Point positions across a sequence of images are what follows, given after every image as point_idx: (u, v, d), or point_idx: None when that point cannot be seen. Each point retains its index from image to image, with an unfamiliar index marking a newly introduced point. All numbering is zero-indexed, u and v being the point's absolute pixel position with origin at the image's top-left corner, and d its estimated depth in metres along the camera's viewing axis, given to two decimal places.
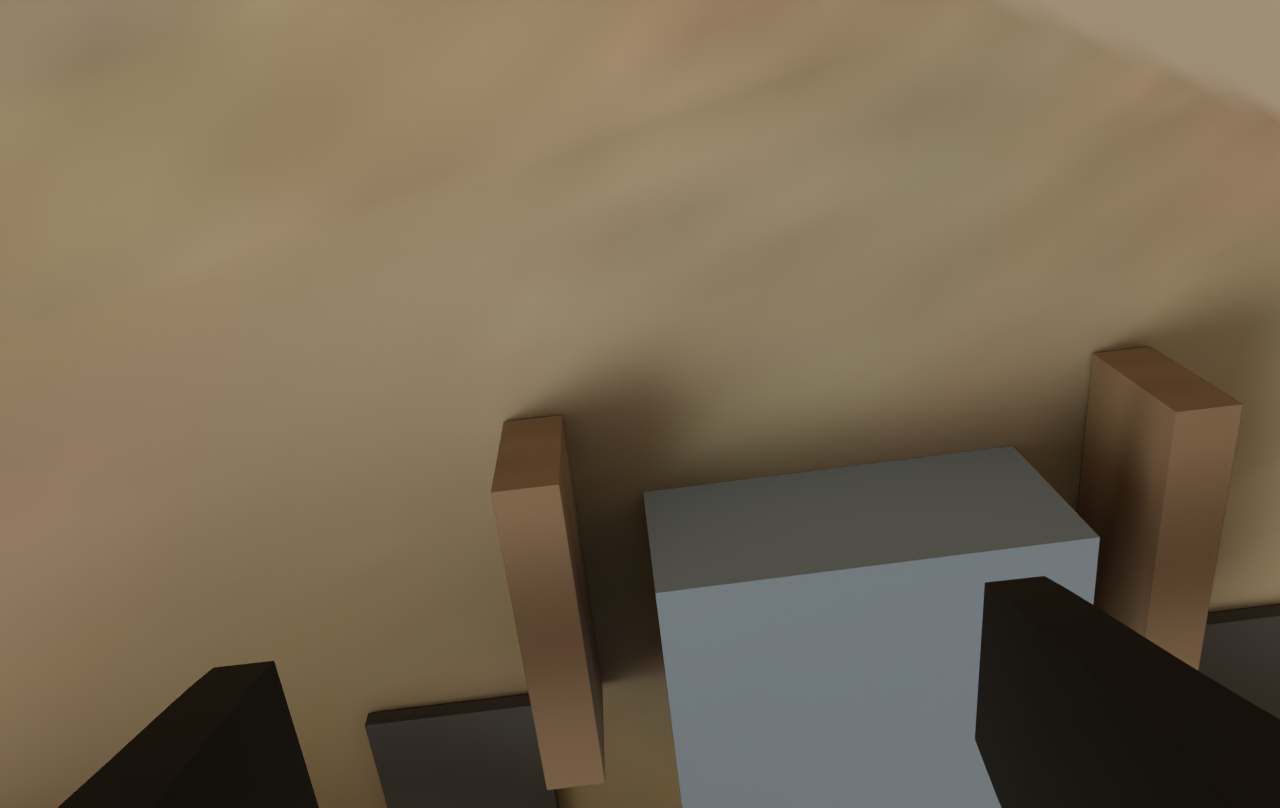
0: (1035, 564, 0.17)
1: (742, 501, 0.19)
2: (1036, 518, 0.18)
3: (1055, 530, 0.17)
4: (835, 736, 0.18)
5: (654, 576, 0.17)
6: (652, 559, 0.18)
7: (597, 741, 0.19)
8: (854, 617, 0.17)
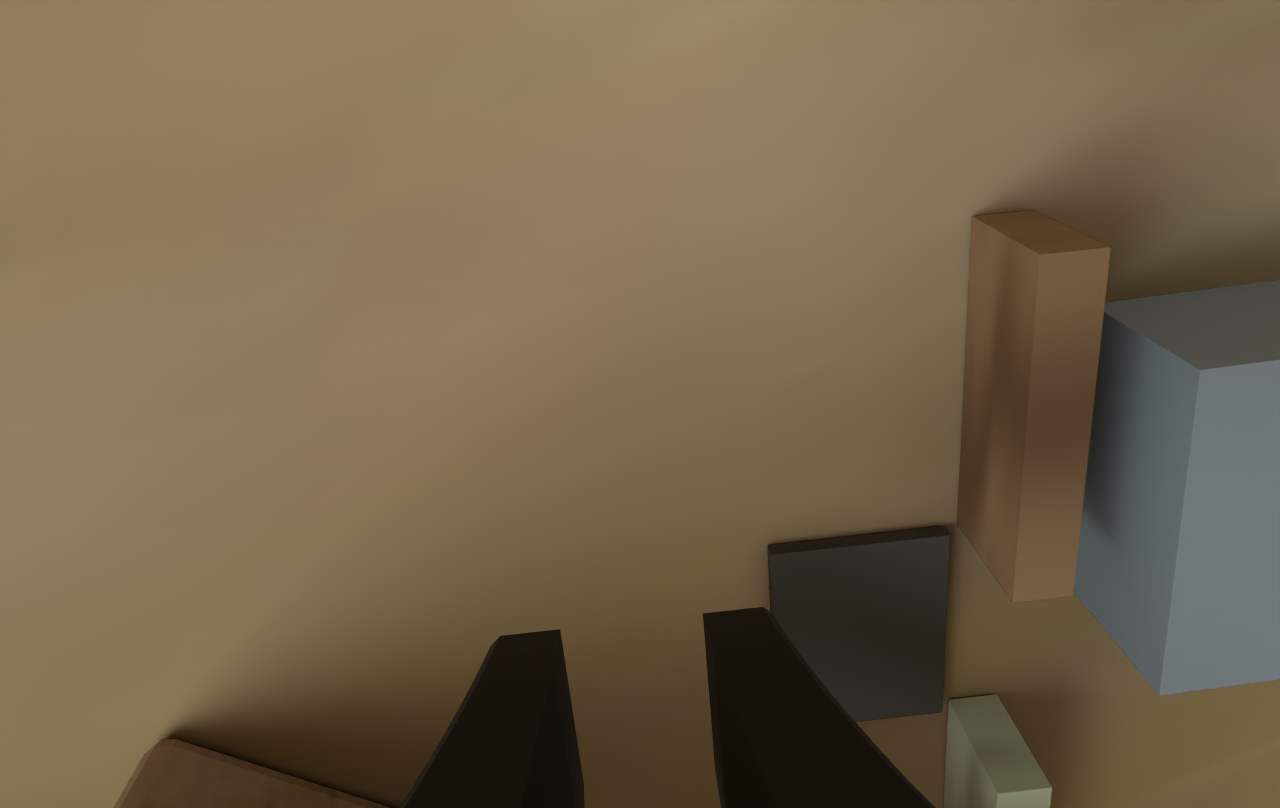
0: None
1: (1215, 305, 0.19)
2: None
3: None
4: None
5: (1183, 359, 0.17)
6: (1165, 348, 0.17)
7: None
8: None
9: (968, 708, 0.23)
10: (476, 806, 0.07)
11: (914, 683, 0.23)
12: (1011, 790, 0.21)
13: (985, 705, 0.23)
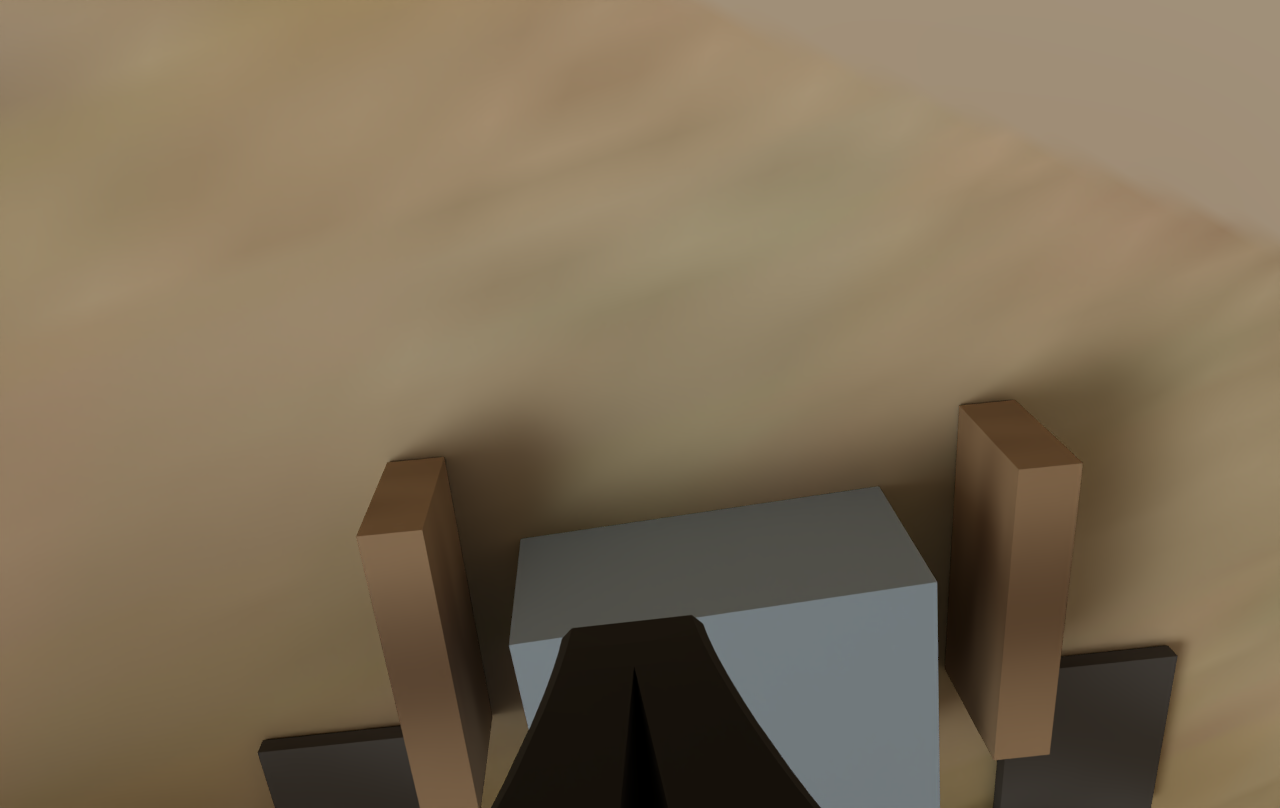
0: (876, 609, 0.18)
1: (611, 548, 0.20)
2: (882, 562, 0.18)
3: (896, 576, 0.18)
4: None
5: (511, 627, 0.18)
6: (513, 610, 0.19)
7: (470, 775, 0.20)
8: None
9: None
10: (576, 794, 0.07)
11: None
12: None
13: None
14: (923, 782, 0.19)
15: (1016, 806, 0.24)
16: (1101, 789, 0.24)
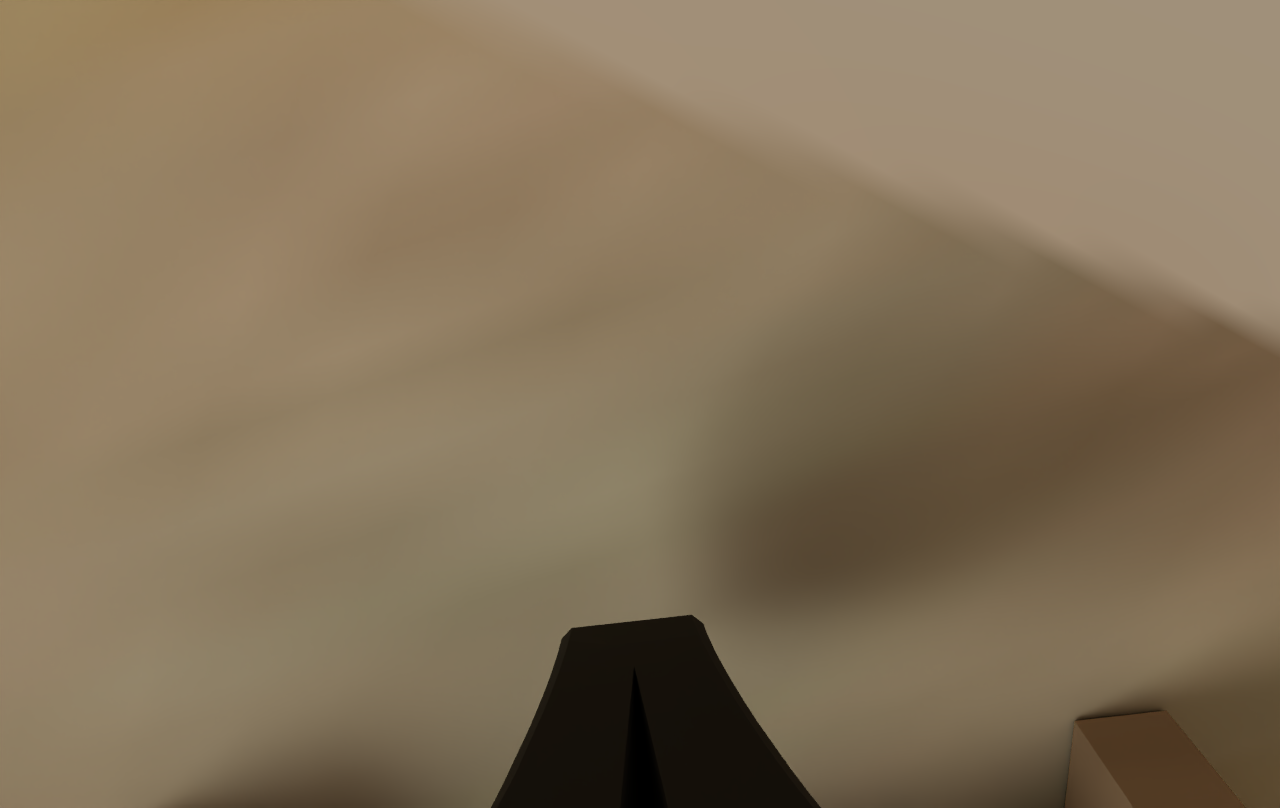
0: None
1: None
2: None
3: None
4: None
5: None
6: None
7: None
8: None
9: None
10: (576, 794, 0.07)
11: None
12: None
13: None
14: None
15: None
16: None
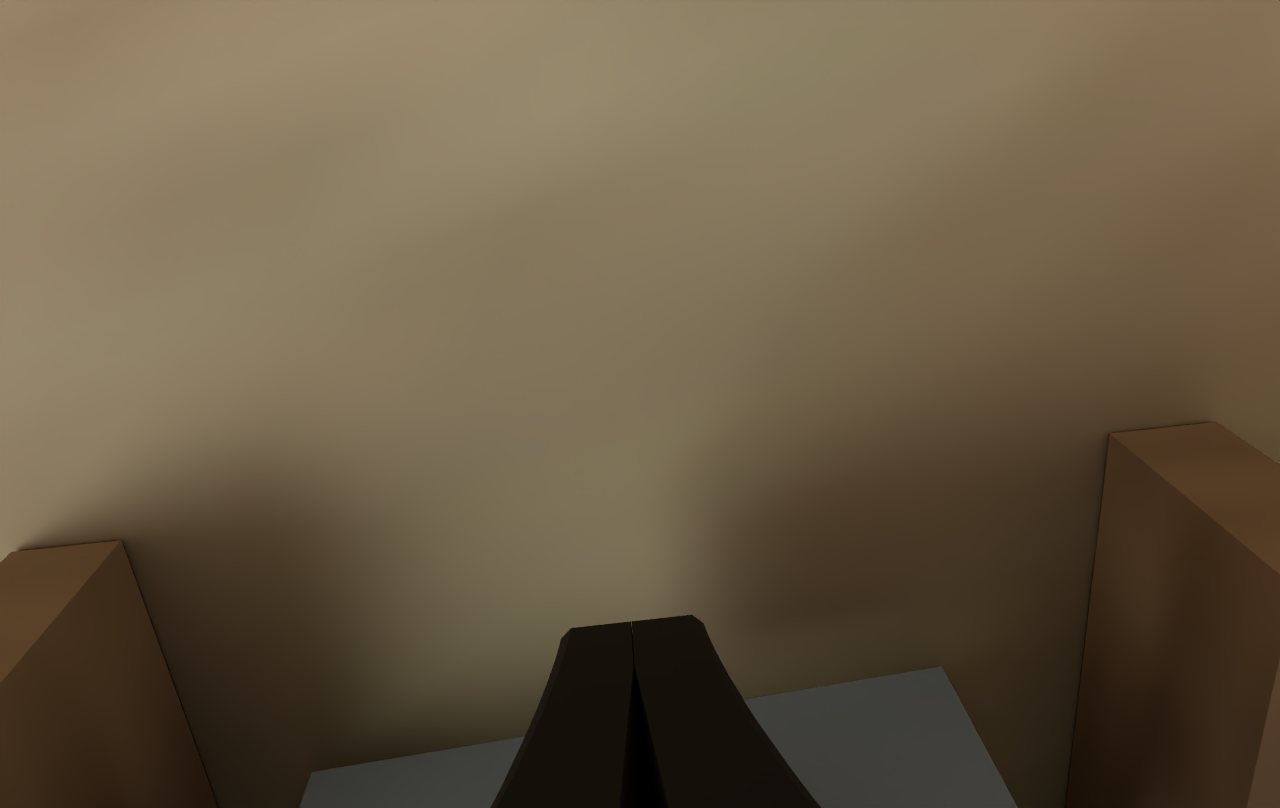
0: None
1: None
2: None
3: None
4: None
5: None
6: None
7: None
8: None
9: None
10: (575, 794, 0.07)
11: None
12: None
13: None
14: None
15: None
16: None
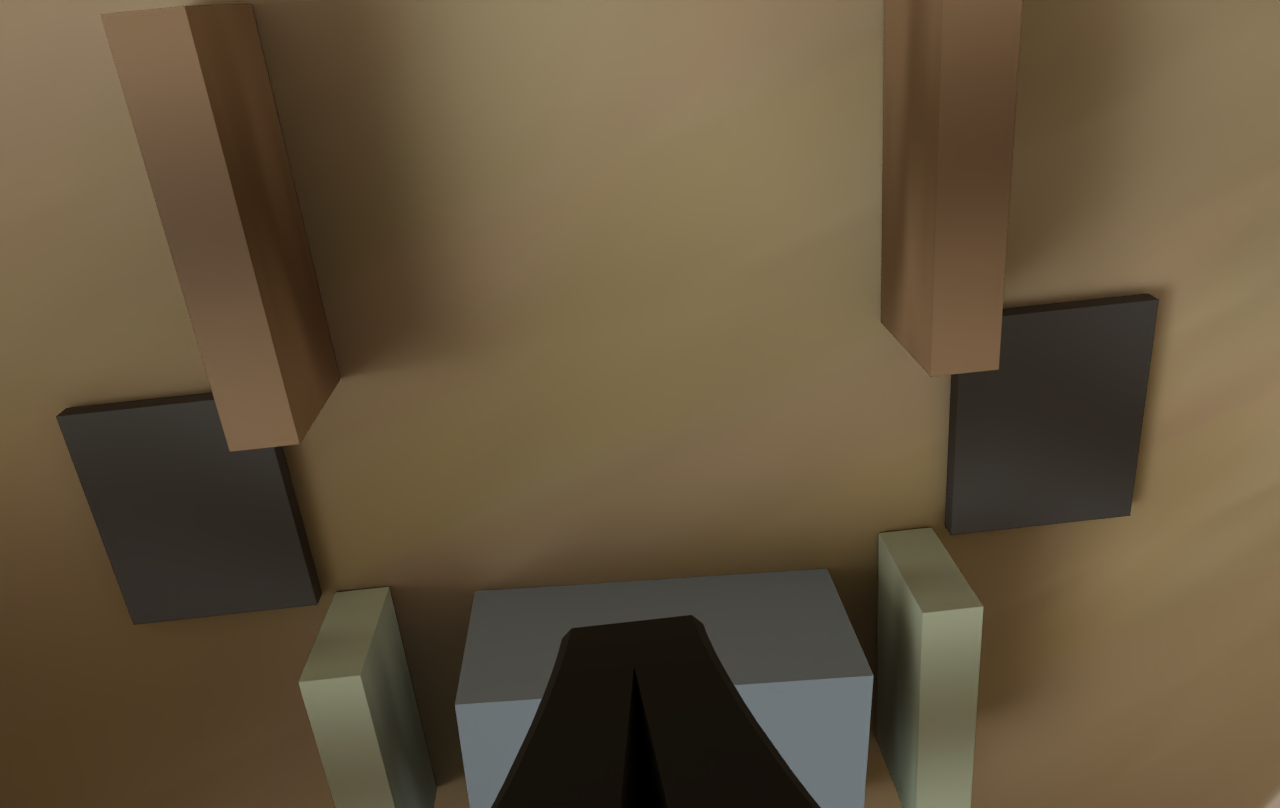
0: (813, 697, 0.18)
1: (563, 609, 0.21)
2: (823, 650, 0.19)
3: (835, 665, 0.19)
4: None
5: (459, 686, 0.18)
6: (462, 667, 0.19)
7: (281, 383, 0.16)
8: None
9: (347, 600, 0.21)
10: (576, 795, 0.07)
11: (274, 570, 0.20)
12: (315, 679, 0.18)
13: (367, 597, 0.21)
14: None
15: (971, 506, 0.21)
16: (1071, 484, 0.21)
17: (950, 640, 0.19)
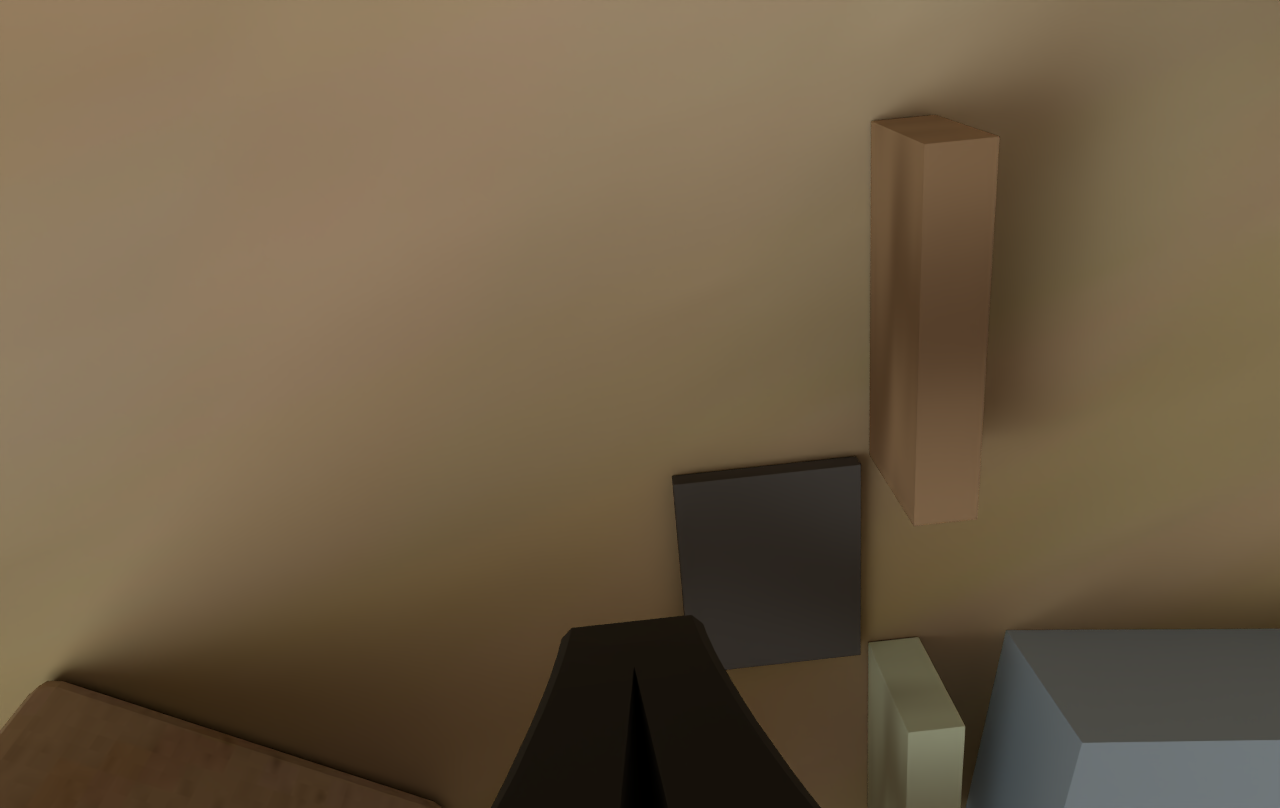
0: None
1: (1106, 653, 0.22)
2: None
3: None
4: None
5: (1070, 724, 0.20)
6: (1058, 706, 0.20)
7: None
8: (1234, 779, 0.20)
9: (887, 650, 0.22)
10: (576, 795, 0.07)
11: (830, 623, 0.22)
12: (923, 729, 0.20)
13: (905, 647, 0.22)
14: None
15: None
16: None
17: None
